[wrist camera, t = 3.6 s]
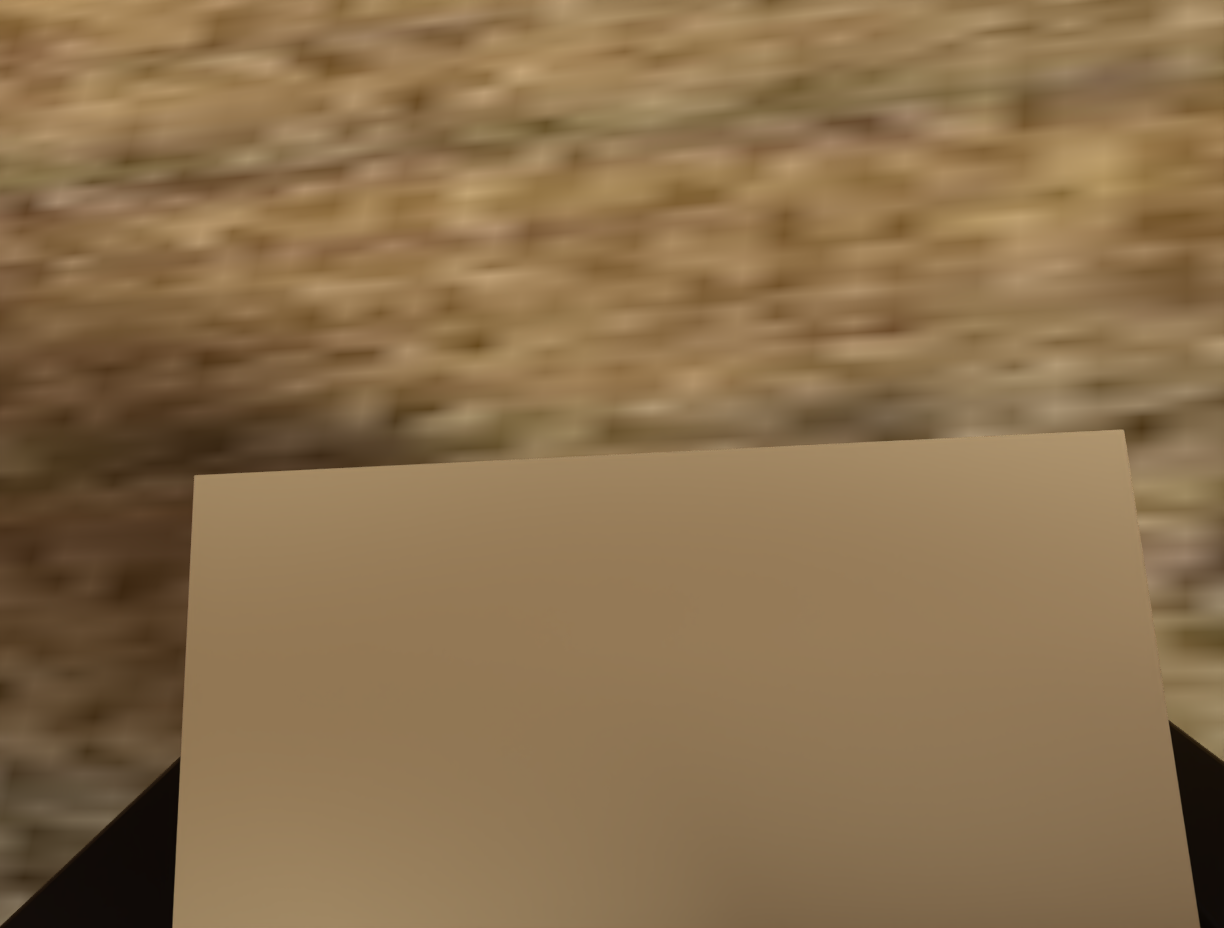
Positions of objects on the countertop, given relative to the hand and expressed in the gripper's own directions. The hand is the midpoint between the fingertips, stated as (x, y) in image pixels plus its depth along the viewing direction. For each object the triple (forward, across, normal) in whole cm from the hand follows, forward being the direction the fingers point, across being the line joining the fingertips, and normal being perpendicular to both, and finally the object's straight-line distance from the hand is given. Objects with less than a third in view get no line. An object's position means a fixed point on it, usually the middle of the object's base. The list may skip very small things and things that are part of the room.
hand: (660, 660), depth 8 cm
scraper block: (+5, 0, +7) cm, 9 cm away
